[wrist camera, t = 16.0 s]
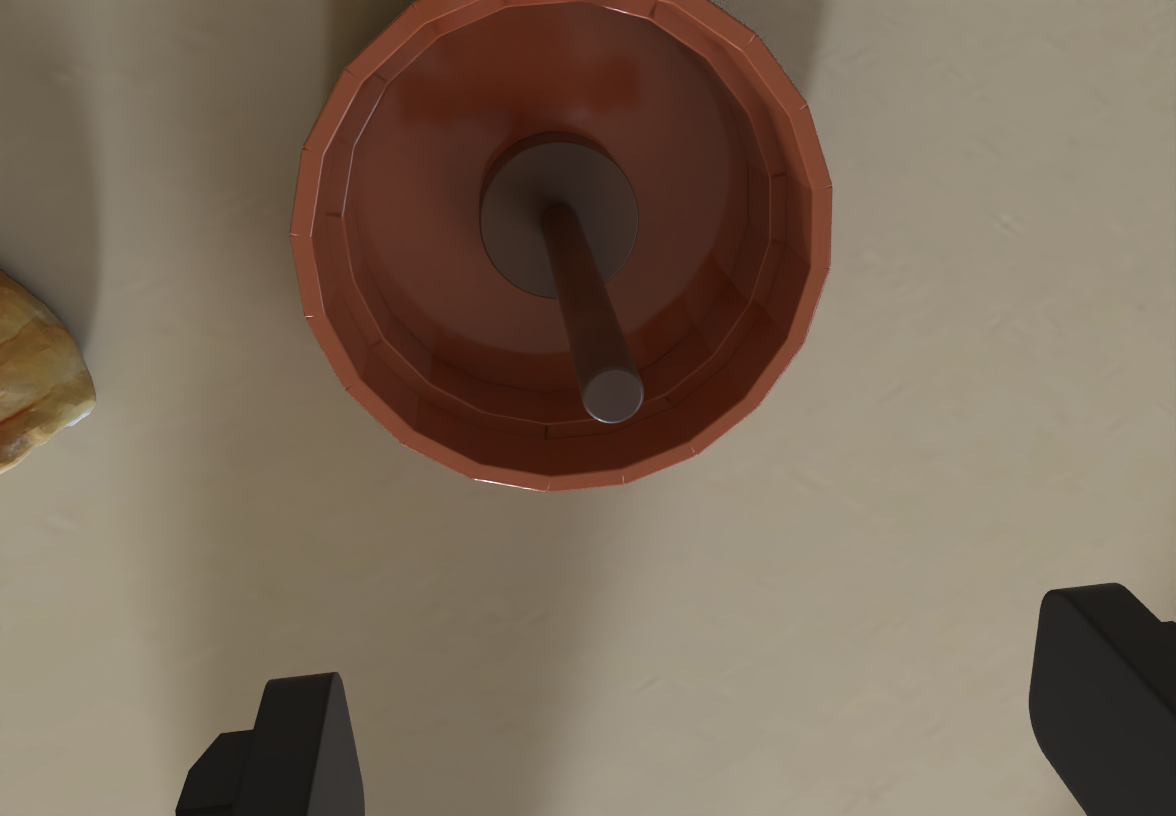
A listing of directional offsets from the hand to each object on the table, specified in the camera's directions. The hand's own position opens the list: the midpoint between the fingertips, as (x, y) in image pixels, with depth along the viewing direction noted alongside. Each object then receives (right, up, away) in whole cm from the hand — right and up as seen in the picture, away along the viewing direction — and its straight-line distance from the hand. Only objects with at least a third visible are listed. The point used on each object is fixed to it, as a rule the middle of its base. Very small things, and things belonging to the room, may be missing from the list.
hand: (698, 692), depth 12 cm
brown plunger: (-2, +10, +23) cm, 25 cm away
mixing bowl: (-2, +10, +23) cm, 26 cm away
